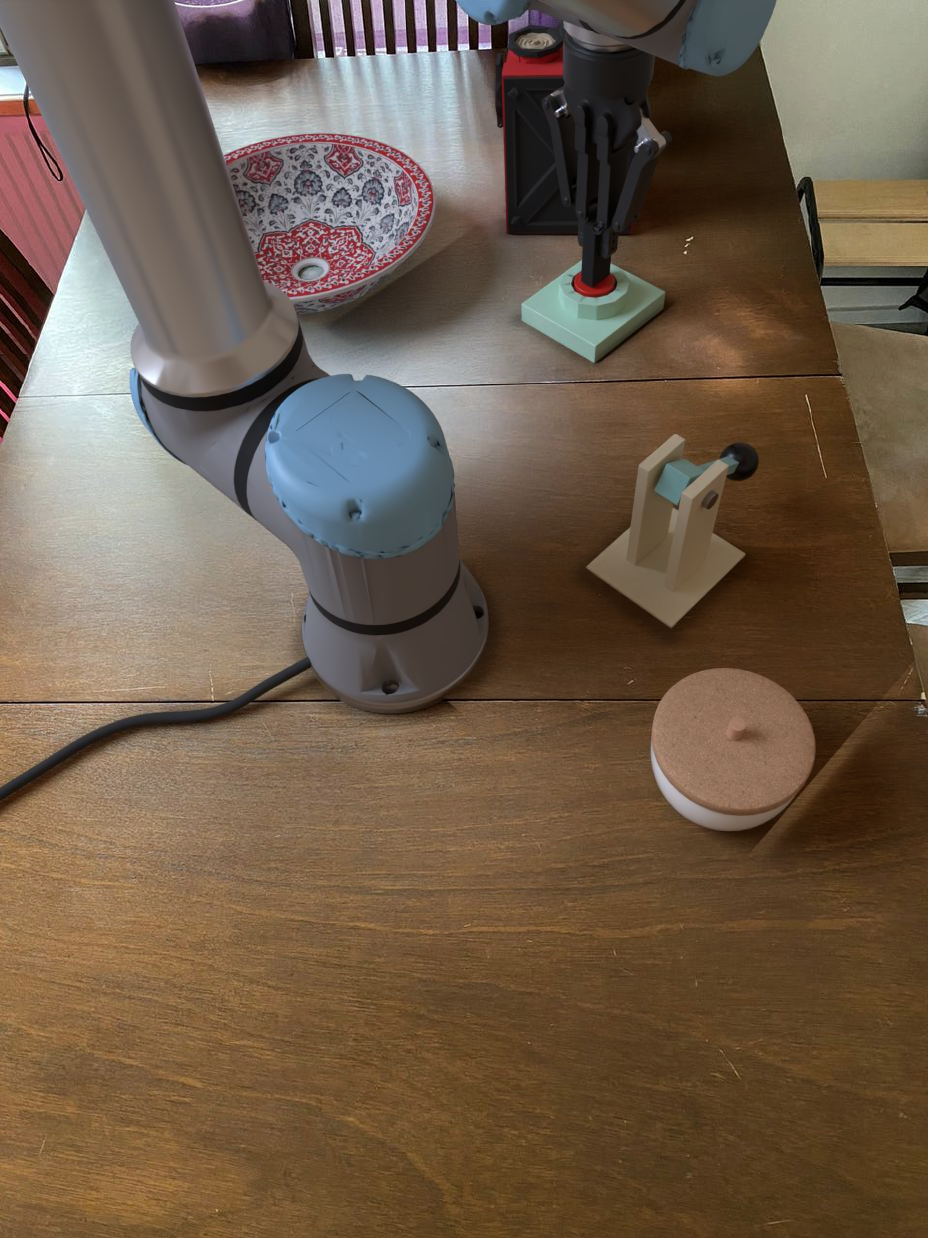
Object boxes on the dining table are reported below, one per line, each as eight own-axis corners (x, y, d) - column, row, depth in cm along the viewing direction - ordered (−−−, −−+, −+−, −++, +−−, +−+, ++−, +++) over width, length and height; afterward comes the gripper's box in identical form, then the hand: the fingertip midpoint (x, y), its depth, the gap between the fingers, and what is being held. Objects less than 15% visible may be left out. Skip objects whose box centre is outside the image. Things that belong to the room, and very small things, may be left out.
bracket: (659, 508, 86) (677, 401, 75) (743, 562, 82) (774, 457, 72) (585, 574, 82) (592, 472, 72) (669, 635, 79) (691, 536, 68)
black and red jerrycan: (636, 185, 113) (654, -1, 97) (636, 238, 108) (655, 50, 91) (502, 185, 115) (497, 2, 98) (495, 237, 109) (489, 52, 93)
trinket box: (691, 694, 75) (710, 628, 68) (817, 771, 71) (852, 710, 63) (613, 795, 71) (623, 737, 63) (742, 883, 67) (769, 833, 59)
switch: (723, 466, 83) (739, 432, 81) (754, 484, 82) (771, 451, 80) (646, 492, 74) (663, 455, 72) (679, 513, 72) (697, 476, 71)
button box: (594, 363, 97) (596, 331, 94) (521, 320, 101) (520, 288, 98) (663, 309, 101) (668, 276, 98) (590, 269, 105) (592, 237, 102)
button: (595, 313, 97) (596, 298, 96) (565, 296, 99) (566, 282, 98) (621, 293, 99) (622, 279, 97) (591, 277, 101) (592, 263, 99)
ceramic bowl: (131, 276, 109) (106, 212, 103) (335, 168, 119) (324, 103, 112) (280, 405, 96) (262, 341, 90) (496, 272, 106) (494, 205, 99)
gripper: (705, 35, 76) (670, 286, 96) (579, -12, 82) (571, 234, 101) (644, 74, 74) (621, 324, 93) (519, 23, 79) (522, 269, 99)
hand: (595, 277), depth 97 cm, fingers closed
